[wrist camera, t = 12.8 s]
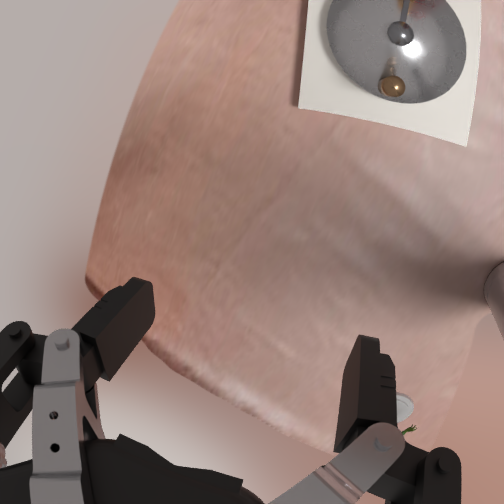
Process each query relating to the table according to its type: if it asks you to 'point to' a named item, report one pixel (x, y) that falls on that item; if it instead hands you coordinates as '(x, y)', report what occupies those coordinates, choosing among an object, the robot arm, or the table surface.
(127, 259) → the table surface
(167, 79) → the table surface
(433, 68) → the grey round piece
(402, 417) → the monster figurine
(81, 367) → the robot arm
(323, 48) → the stand
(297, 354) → the table surface
